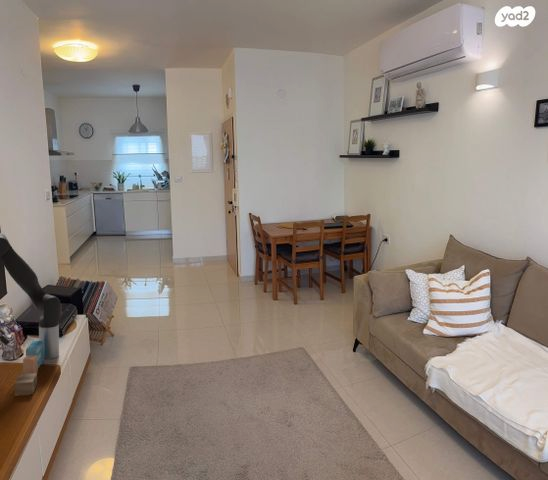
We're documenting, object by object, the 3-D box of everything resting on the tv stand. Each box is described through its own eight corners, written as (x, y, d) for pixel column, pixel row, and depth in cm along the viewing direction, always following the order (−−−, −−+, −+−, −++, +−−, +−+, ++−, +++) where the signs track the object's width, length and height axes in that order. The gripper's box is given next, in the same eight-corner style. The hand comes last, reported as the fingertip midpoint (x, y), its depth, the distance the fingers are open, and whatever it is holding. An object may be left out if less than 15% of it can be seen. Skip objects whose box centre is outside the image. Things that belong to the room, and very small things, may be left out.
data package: (36, 372, 215) (35, 348, 213) (26, 372, 214) (25, 348, 212) (43, 362, 226) (42, 339, 225) (33, 362, 225) (33, 340, 224)
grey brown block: (19, 386, 200) (19, 374, 199) (37, 385, 202) (36, 373, 201) (14, 396, 191) (14, 383, 190) (32, 394, 193) (32, 381, 192)
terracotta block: (23, 379, 206) (22, 359, 205) (27, 375, 211) (27, 355, 209) (33, 379, 207) (33, 359, 206) (37, 375, 211) (37, 355, 210)
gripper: (-26, 322, 195) (2, 347, 198) (-10, 312, 209) (16, 336, 212) (-39, 333, 195) (-10, 358, 198) (-22, 323, 209) (4, 346, 212)
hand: (3, 346), depth 205 cm, fingers open, 8 cm apart
